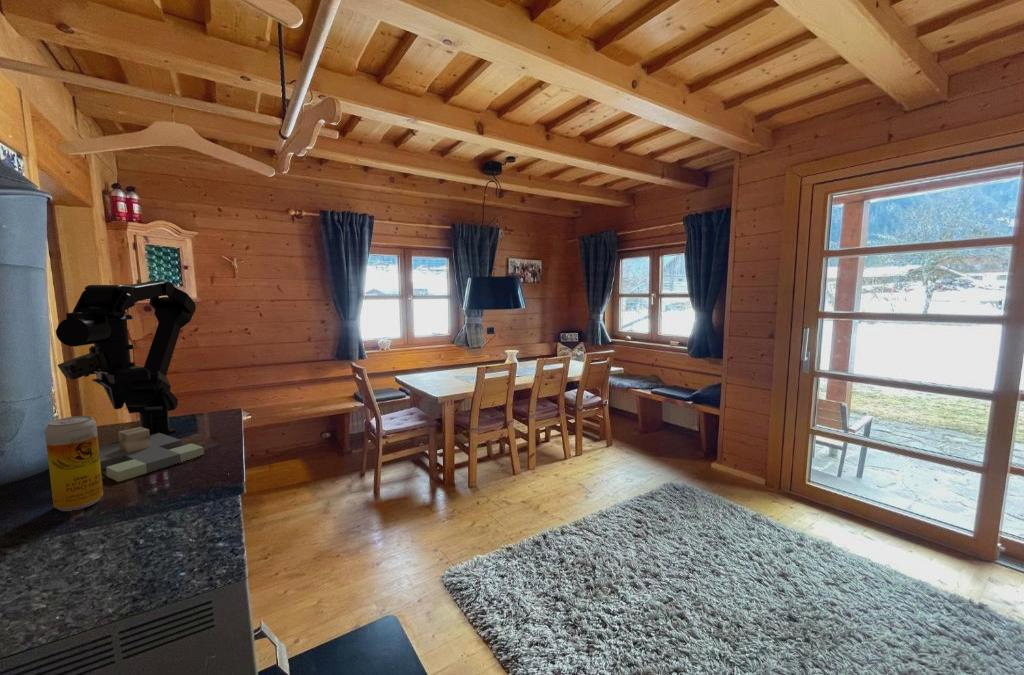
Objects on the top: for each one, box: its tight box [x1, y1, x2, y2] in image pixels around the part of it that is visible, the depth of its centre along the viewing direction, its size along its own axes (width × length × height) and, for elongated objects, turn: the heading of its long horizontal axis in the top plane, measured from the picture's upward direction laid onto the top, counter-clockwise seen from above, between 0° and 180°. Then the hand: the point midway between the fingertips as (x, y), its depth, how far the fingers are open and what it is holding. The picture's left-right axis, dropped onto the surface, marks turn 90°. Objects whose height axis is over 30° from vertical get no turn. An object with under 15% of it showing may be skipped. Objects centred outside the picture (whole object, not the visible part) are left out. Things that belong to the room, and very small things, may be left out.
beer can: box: [44, 415, 104, 512], centre depth 73 cm, size 6×6×15 cm
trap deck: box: [99, 433, 205, 483], centre depth 93 cm, size 20×15×2 cm
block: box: [118, 426, 151, 453], centre depth 94 cm, size 4×4×4 cm
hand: (117, 408), depth 97 cm, fingers closed
